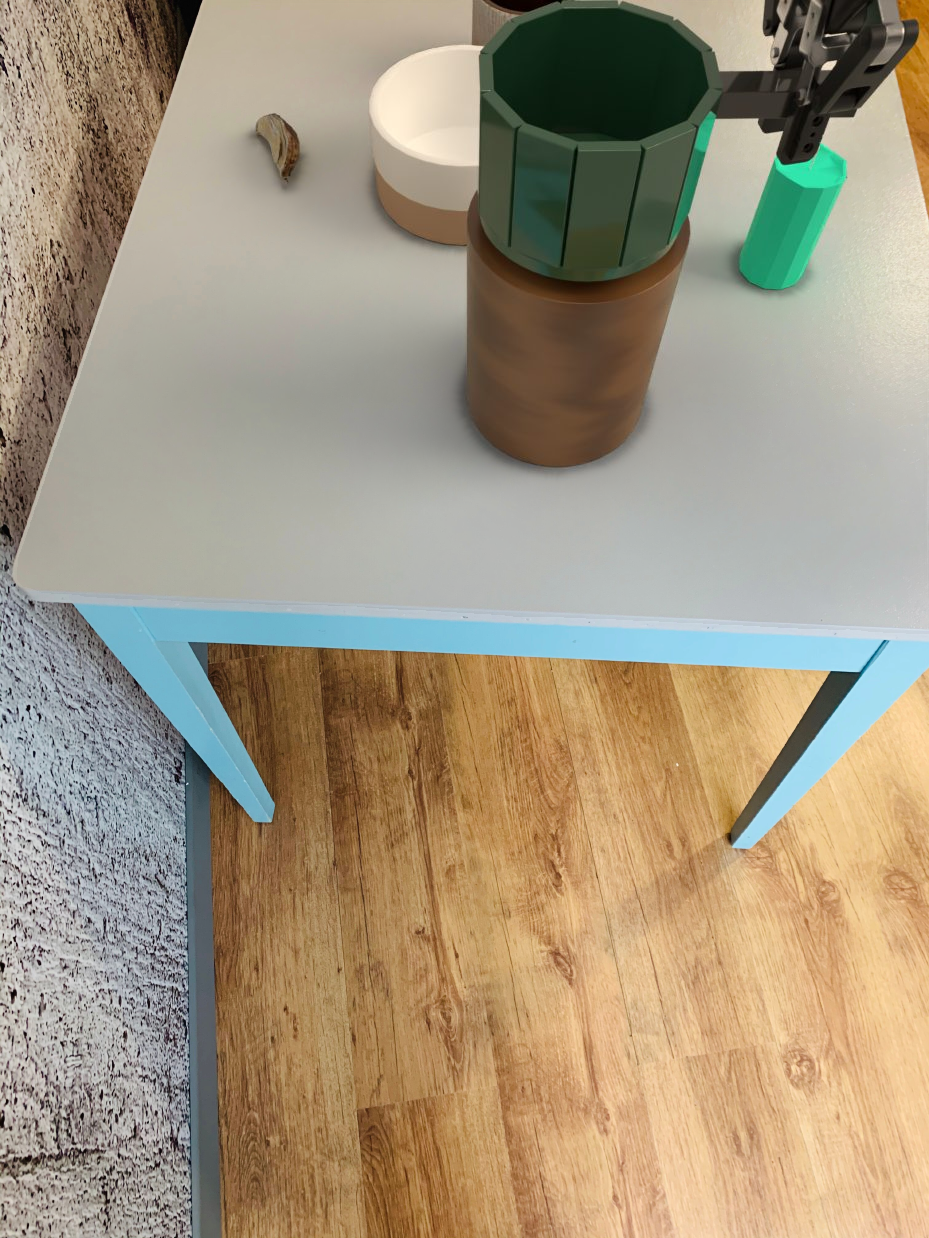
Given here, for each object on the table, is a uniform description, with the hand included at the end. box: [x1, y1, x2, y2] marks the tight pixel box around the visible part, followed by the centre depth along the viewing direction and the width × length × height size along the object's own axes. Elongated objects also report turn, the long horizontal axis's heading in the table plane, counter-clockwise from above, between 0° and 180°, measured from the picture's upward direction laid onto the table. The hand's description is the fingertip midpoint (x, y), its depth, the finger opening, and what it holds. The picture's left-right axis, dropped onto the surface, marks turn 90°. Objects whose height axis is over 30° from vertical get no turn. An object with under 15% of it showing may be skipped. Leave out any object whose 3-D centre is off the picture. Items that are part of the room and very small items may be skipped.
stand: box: [466, 190, 691, 468], centre depth 65 cm, size 15×15×18 cm
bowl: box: [368, 44, 484, 246], centre depth 81 cm, size 17×17×8 cm
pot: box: [477, 0, 858, 282], centre depth 52 cm, size 22×14×9 cm, turn 91°
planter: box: [471, 0, 578, 46], centre depth 87 cm, size 11×11×10 cm
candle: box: [738, 141, 848, 291], centre depth 74 cm, size 6×6×12 cm
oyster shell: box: [254, 112, 301, 184], centre depth 85 cm, size 6×4×10 cm
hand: (784, 142), depth 52 cm, fingers closed on pot, 2 cm apart
